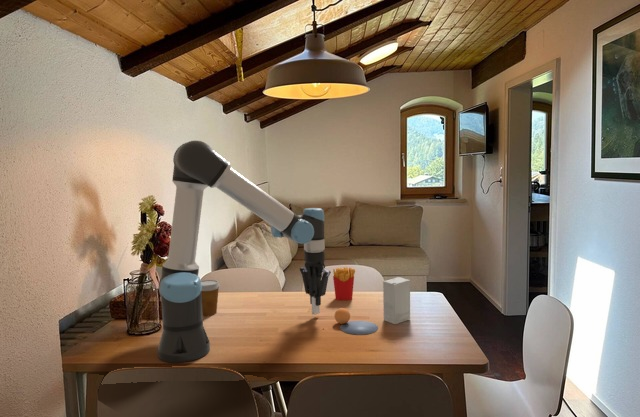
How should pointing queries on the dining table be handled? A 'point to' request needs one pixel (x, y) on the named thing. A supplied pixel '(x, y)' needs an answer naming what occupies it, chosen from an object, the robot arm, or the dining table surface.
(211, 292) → the disposable coffee cup
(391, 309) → the skincare box
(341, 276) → the french fries
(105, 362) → the dining table surface
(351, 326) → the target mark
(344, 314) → the ball
